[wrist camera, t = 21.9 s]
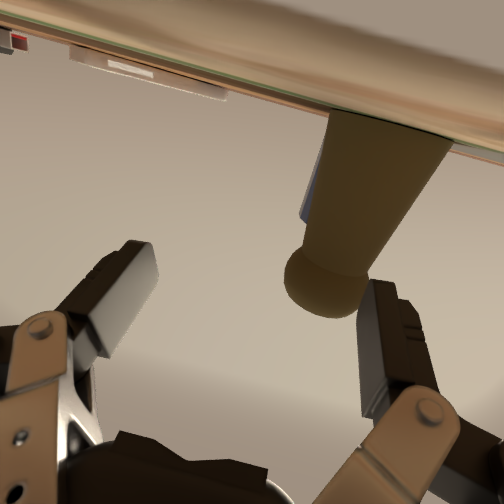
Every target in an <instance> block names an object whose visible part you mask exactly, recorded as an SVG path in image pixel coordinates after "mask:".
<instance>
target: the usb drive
mask: <svg viewBox="0 0 504 504" xmlns="http://www.w3.org/2000/svg"><path fill="white" fill-rule="evenodd" d="M14 50H17V51H22V52H26V53H29V44H28V37H27V36H24V35H21V34H18V33H14V32H12V30H11V29H8V28H5V27H1V26H0V53H4V54H9V55H12V53H13V51H14Z"/></svg>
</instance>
